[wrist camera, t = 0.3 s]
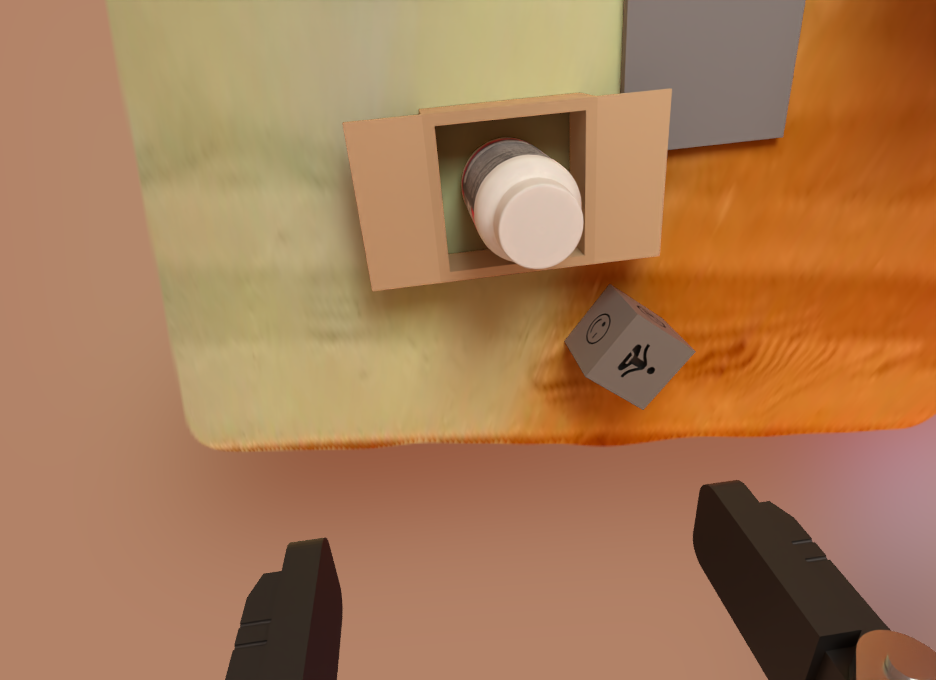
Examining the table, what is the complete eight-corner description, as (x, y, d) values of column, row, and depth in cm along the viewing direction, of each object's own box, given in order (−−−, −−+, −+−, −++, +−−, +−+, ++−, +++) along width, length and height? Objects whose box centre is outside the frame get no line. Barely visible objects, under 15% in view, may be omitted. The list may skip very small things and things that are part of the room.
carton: (347, 116, 31) (342, 123, 29) (647, 85, 32) (672, 88, 30) (373, 272, 36) (372, 291, 33) (639, 240, 37) (659, 255, 34)
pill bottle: (443, 198, 34) (460, 249, 25) (490, 117, 32) (526, 141, 24) (516, 242, 36) (555, 302, 27) (565, 166, 34) (624, 206, 25)
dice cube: (609, 283, 38) (637, 314, 34) (662, 318, 40) (695, 351, 35) (564, 340, 40) (585, 376, 35) (616, 371, 41) (643, 409, 37)
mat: (625, -46, 29) (629, -48, 29) (808, -62, 30) (816, -64, 30) (618, 153, 34) (621, 155, 34) (777, 135, 35) (783, 137, 34)
